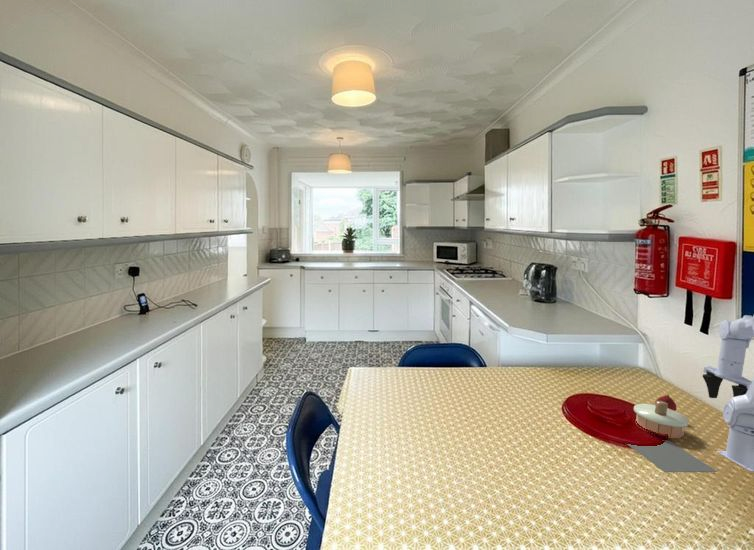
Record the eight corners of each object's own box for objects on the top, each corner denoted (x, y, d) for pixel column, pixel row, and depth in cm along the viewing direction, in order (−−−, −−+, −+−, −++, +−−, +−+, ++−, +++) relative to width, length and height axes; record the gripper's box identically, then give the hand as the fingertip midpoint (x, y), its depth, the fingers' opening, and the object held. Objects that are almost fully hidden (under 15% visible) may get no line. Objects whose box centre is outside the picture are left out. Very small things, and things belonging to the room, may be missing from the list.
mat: (717, 473, 100) (717, 471, 100) (664, 473, 98) (664, 471, 98) (668, 442, 115) (668, 440, 114) (621, 441, 113) (621, 440, 113)
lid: (700, 426, 116) (702, 412, 116) (660, 427, 114) (662, 413, 113) (659, 405, 130) (661, 393, 129) (623, 406, 127) (624, 393, 127)
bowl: (693, 439, 117) (695, 425, 117) (656, 439, 116) (658, 425, 115) (660, 420, 129) (662, 407, 128) (627, 420, 128) (628, 407, 127)
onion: (678, 421, 129) (681, 398, 128) (659, 419, 130) (662, 396, 129) (669, 414, 135) (672, 391, 134) (650, 411, 136) (653, 389, 135)
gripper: (697, 352, 125) (691, 393, 127) (743, 368, 111) (736, 413, 113) (717, 353, 126) (711, 393, 128) (765, 368, 112) (758, 413, 113)
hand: (724, 402), depth 120 cm, fingers open, 7 cm apart
